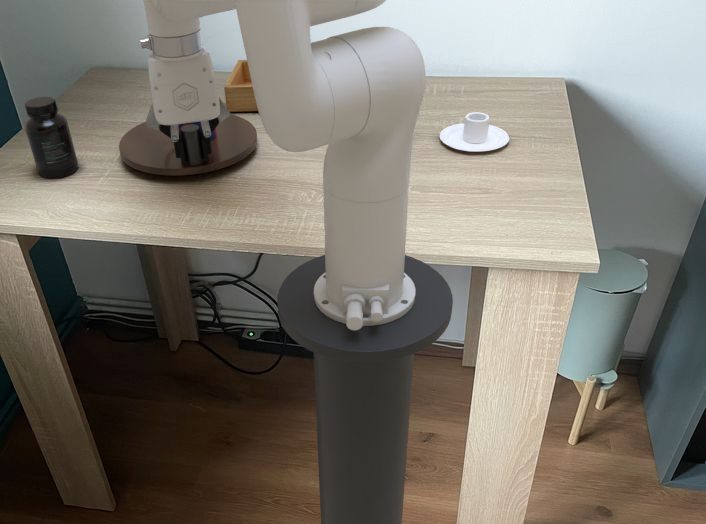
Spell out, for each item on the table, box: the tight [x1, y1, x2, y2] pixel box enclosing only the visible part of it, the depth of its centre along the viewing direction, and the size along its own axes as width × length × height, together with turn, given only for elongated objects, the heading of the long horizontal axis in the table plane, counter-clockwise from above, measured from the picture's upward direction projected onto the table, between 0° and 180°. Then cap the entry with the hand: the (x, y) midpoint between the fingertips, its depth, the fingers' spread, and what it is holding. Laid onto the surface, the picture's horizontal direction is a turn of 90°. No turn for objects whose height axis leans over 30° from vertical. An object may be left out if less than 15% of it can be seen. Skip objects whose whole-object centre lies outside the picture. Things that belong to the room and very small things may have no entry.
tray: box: [223, 59, 259, 113], centre depth 144 cm, size 31×15×6 cm, turn 84°
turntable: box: [118, 113, 258, 176], centre depth 125 cm, size 24×24×7 cm
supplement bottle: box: [24, 95, 79, 179], centre depth 122 cm, size 7×7×12 cm
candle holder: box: [439, 111, 510, 153], centre depth 127 cm, size 12×12×4 cm
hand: (194, 158), depth 119 cm, fingers closed on turntable, 3 cm apart
